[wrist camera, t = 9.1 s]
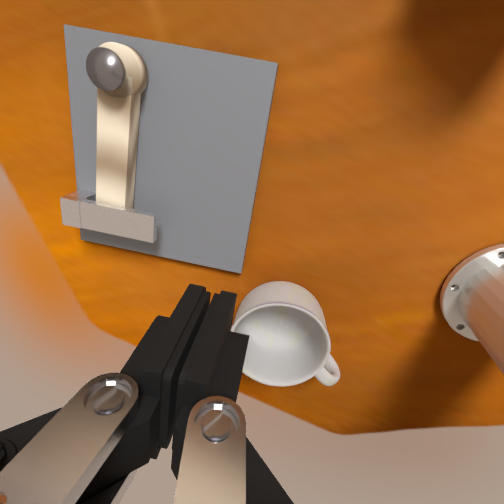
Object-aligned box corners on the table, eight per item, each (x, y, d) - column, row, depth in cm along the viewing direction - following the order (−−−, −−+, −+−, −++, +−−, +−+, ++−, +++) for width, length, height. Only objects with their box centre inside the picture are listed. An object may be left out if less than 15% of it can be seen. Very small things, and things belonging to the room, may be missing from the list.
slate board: (278, 64, 29) (277, 63, 29) (242, 269, 39) (241, 273, 38) (70, 26, 30) (63, 24, 29) (85, 236, 40) (81, 239, 39)
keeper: (169, 203, 37) (153, 217, 33) (168, 227, 38) (152, 243, 34) (86, 186, 37) (60, 197, 33) (88, 210, 39) (62, 224, 34)
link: (104, 39, 29) (78, 32, 26) (150, 52, 29) (130, 45, 26) (100, 220, 38) (80, 232, 34) (136, 230, 37) (120, 243, 34)
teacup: (222, 298, 42) (207, 340, 34) (288, 251, 37) (286, 288, 30) (290, 366, 45) (289, 416, 38) (357, 329, 41) (370, 378, 34)
